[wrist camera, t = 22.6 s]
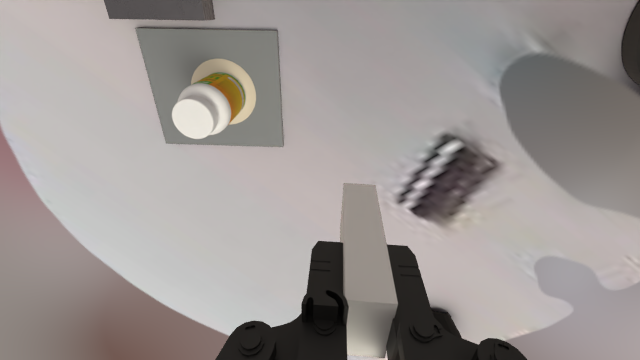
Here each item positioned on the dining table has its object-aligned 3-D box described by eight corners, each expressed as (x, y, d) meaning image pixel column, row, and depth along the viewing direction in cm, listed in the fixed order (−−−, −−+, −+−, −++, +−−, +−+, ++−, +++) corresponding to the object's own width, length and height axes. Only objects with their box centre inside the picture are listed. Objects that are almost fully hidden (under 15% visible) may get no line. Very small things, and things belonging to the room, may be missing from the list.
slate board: (277, 30, 33) (276, 30, 33) (283, 145, 40) (282, 147, 40) (138, 27, 34) (134, 28, 33) (168, 141, 41) (165, 143, 40)
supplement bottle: (228, 62, 35) (194, 79, 26) (255, 102, 37) (232, 130, 28) (194, 85, 36) (151, 108, 28) (222, 122, 38) (190, 154, 30)
